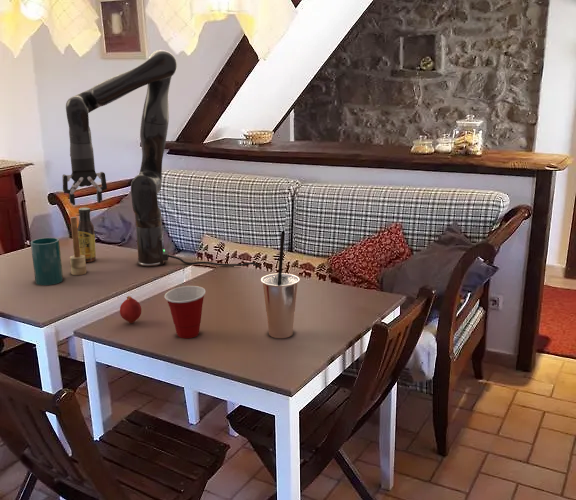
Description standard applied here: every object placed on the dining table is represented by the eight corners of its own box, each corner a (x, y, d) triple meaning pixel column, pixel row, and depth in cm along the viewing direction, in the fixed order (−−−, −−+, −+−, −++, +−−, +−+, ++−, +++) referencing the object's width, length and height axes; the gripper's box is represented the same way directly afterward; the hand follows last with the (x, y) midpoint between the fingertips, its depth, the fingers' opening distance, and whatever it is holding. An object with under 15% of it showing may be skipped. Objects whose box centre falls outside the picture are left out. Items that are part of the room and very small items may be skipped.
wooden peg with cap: (87, 270, 226) (82, 215, 221) (84, 274, 221) (79, 218, 216) (73, 271, 226) (67, 215, 220) (70, 275, 221) (64, 219, 215)
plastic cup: (159, 333, 171) (156, 291, 168) (194, 323, 178) (192, 282, 174) (179, 346, 163) (176, 302, 160) (215, 335, 169) (213, 292, 166)
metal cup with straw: (284, 346, 162) (283, 232, 154) (252, 335, 169) (249, 225, 161) (310, 333, 170) (311, 224, 162) (279, 323, 177) (277, 218, 169)
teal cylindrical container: (66, 276, 220) (61, 237, 216) (59, 284, 211) (55, 243, 207) (39, 277, 219) (34, 238, 215) (32, 285, 210) (27, 244, 207)
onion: (131, 317, 182) (129, 291, 180) (146, 321, 180) (144, 294, 177) (116, 324, 178) (114, 297, 175) (131, 328, 175) (129, 300, 173)
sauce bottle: (75, 262, 236) (70, 209, 230) (85, 257, 242) (80, 206, 236) (90, 263, 234) (85, 210, 229) (100, 259, 240) (95, 207, 234)
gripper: (62, 159, 210) (66, 207, 214) (105, 156, 216) (109, 203, 220) (58, 156, 216) (63, 203, 220) (101, 153, 222) (105, 199, 227)
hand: (86, 203), depth 220 cm, fingers open, 8 cm apart
